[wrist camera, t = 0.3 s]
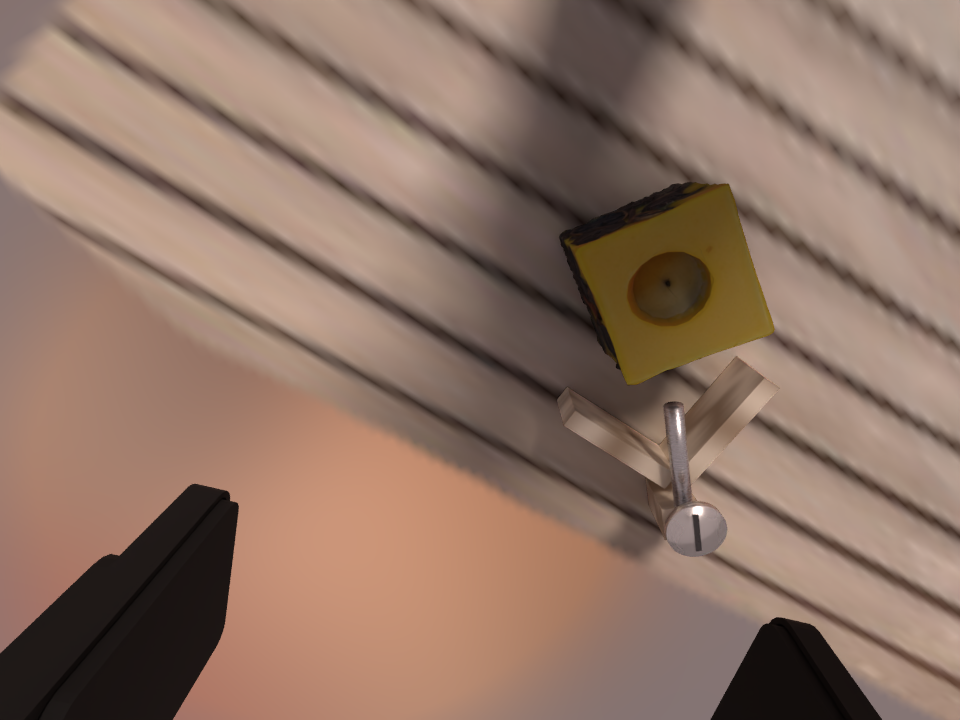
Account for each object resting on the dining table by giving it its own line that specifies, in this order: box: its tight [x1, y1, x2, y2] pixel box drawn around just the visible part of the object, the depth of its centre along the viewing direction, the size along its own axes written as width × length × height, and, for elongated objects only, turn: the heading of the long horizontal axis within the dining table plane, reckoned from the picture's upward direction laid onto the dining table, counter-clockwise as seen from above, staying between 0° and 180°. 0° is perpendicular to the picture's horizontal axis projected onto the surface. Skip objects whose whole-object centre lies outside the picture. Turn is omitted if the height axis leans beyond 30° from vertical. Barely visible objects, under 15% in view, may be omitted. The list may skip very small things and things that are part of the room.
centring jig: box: [557, 356, 780, 540], centre depth 45 cm, size 13×16×5 cm
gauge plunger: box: [663, 402, 727, 557], centre depth 40 cm, size 11×4×4 cm, turn 11°
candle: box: [559, 182, 775, 385], centre depth 37 cm, size 10×10×10 cm
